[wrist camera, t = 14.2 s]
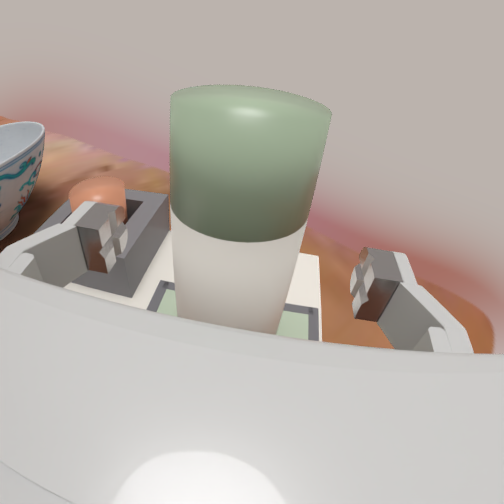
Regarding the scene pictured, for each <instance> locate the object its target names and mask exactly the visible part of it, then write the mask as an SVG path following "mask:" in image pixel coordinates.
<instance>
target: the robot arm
mask: <svg viewBox="0 0 504 504" xmlns="http://www.w3.org/2000/svg"><path fill="white" fill-rule="evenodd" d="M125 217H126V216H125V210H124V208H123V207H122V206H119V205H113V204H106V203H100V202H94V201H84V202H83V203H82V204H81V205H80V206H79V207H78V208H77V209H76V210H75V211H74V212H73V213H72V214H71V215H70V216H69V217H68V218H67V219H66V220H65V221H64V222H63V223H62V224H60V223H58V224H56V225H53V226H51V227H49V228H46V229H44V230H42V231H40V232H37V233H35V234H33V235H31V236H28V237H26V238H24V239H22V240H20V241H17V242H15V243H13V244H11V245H9V246H7V247H6V248H5V249H4V250H3V251H2V252H1V253H0V504H504V354H474V352H473V349H472V346H471V343H470V340H469V337H468V334H467V332H466V329H465V328H464V327H463V326H462V325H461V324H460V323H459V322H458V321H457V320H456V319H455V318H454V317H453V316H452V315H451V314H450V313H449V312H448V311H447V310H446V309H445V308H444V307H443V306H442V305H441V304H440V303H439V302H438V301H437V300H436V299H435V298H434V297H433V296H432V295H431V294H429V293H428V292H427V291H426V290H425V289H424V288H423V287H422V286H419V285H417V282H416V279H415V277H414V274H413V271H412V269H411V266H410V264H409V261H408V258H407V256H406V255H405V254H404V253H398V252H392V251H384V250H379V249H373V248H368V247H364V248H363V250H361V253H360V255H359V259H360V264H358V265H357V266H355V268H354V270H353V273H352V276H351V281H350V291H351V294H352V296H353V297H354V298H355V299H354V301H353V303H352V306H353V313H354V319H361V320H367V321H373V322H377V324H378V325H379V327H380V328H381V330H382V331H383V332H384V334H385V335H386V337H387V338H388V340H389V341H390V343H391V344H392V346H393V347H394V348H395V349H386V348H375V347H364V346H354V345H346V344H337V343H329V342H321V341H313V340H306V339H299V338H292V337H286V336H279V335H273V334H266V333H260V332H254V331H249V330H243V329H237V328H232V327H226V326H221V325H215V324H210V323H205V322H200V321H195V320H190V319H185V318H181V317H176V316H171V315H167V314H162V313H158V312H153V311H149V310H145V309H141V308H136V307H132V306H128V305H124V304H120V303H116V302H112V301H108V300H105V299H101V298H97V297H93V296H90V295H86V294H83V293H79V292H75V291H72V290H68V289H65V288H63V287H65V286H66V285H68V284H69V283H71V282H72V281H74V280H75V279H77V278H78V277H79V276H81V275H82V274H84V273H85V272H87V271H88V270H91V271H96V272H101V273H106V274H108V273H109V272H110V270H111V269H112V267H113V266H114V264H115V263H116V256H118V255H120V254H121V253H122V252H123V251H124V249H125V247H126V243H127V238H128V232H127V227H126V226H125V225H124V223H123V220H124V219H125Z"/></svg>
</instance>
